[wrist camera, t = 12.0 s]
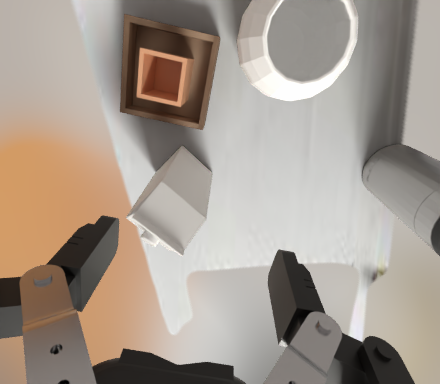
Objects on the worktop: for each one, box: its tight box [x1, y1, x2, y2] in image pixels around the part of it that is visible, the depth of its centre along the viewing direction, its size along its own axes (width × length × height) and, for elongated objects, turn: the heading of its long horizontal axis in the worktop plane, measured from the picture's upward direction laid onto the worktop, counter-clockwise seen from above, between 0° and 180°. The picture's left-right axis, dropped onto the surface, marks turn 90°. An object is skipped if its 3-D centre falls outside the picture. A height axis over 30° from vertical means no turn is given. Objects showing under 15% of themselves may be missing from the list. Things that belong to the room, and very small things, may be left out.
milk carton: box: [126, 146, 212, 256], centre depth 38 cm, size 7×7×19 cm
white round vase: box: [237, 0, 358, 101], centre depth 31 cm, size 13×13×14 cm
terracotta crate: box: [137, 48, 194, 107], centre depth 36 cm, size 6×6×7 cm
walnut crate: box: [120, 14, 220, 130], centre depth 38 cm, size 12×12×4 cm
